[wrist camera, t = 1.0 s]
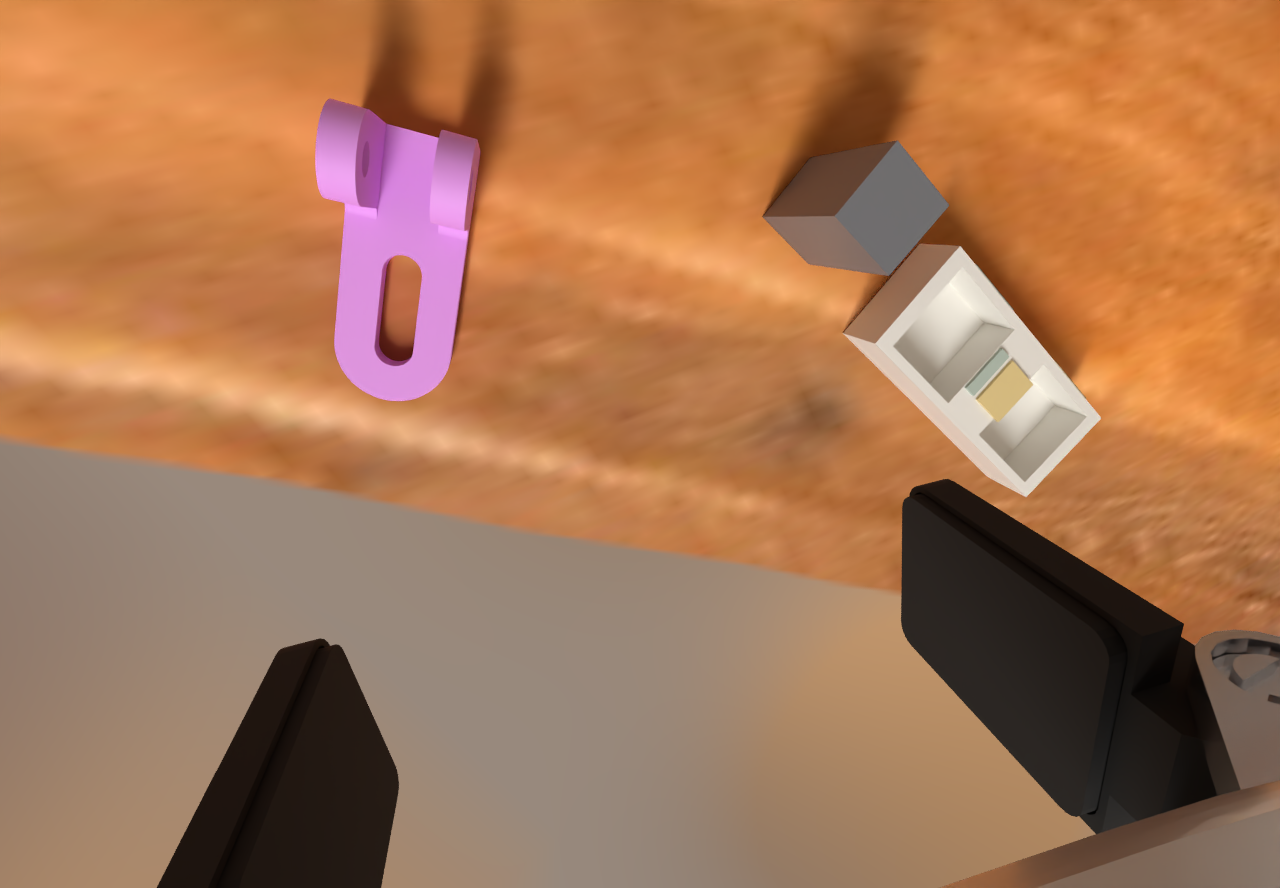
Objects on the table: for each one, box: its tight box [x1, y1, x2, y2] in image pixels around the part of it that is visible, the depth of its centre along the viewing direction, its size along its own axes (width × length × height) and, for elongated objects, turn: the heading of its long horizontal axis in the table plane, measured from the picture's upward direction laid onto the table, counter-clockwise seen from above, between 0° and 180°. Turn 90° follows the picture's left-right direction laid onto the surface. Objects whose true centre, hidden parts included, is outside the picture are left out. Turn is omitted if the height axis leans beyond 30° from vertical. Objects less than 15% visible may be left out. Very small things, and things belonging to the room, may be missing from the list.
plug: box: [763, 140, 949, 276], centre depth 31 cm, size 4×4×8 cm
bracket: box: [315, 99, 481, 401], centre depth 28 cm, size 13×6×7 cm, turn 167°
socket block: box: [843, 244, 1101, 497], centre depth 38 cm, size 7×17×4 cm, turn 50°
